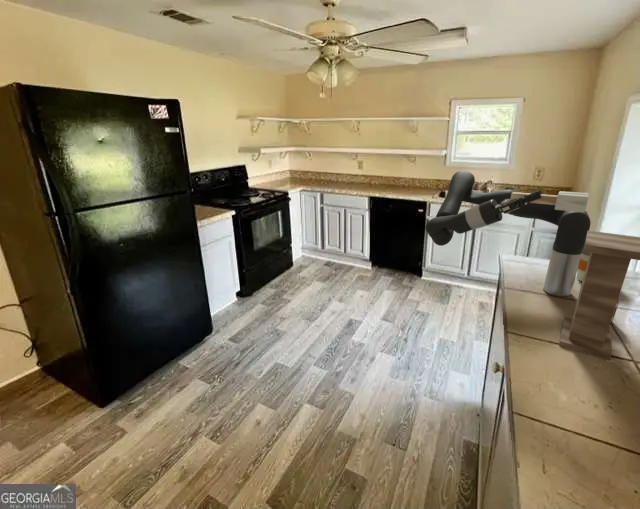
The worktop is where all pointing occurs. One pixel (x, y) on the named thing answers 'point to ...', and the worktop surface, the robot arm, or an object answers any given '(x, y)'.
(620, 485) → the worktop surface
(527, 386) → the worktop surface
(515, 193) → the grey and beige bar
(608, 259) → the stand
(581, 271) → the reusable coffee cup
